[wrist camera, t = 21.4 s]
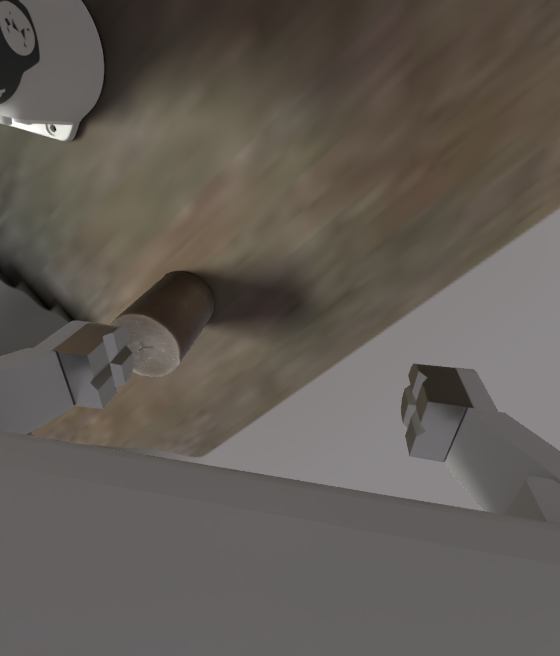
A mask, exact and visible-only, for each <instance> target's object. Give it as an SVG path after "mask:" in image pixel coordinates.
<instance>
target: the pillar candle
mask: <svg viewBox="0 0 560 656" xmlns="http://www.w3.org/2000/svg"><path fill="white" fill-rule="evenodd" d="M214 306H215V304H214V298H213V295H212V292H211V291H210V289H209V287H208V286H207V285H206V284H205V283H204V282H203V281H202V280H201V279H200V278H199V277H197V276H196V275H193V274H191V273H188V272H183V271H175V272H170V273H168V274H166V275H165V276H164V277H163V278H162V279H161V280H160V281H158V282H157V283H156V284H155V285H154V286H153V287H152V288H150V289H149V290H148V291H147V292H146V293H144V294H143V295H142V296H141V297H140V298H139V299H138V300H136V301H135V302H134V303H133V304H132V305H131V306H130V307H128V308H127V309H126V310H125V311H124V312H123V313H121V314H120V315H119V316H118V317H117V318H116V319H115V320H114V321H113V322H112V323H111V325H113V326H120V327H124V328H125V329H126V330H128V334H129V338H130V341H129V342H128V344H127V347H128V348H129V349H130V350H131V351H132V353H133V357H134V368H133V372H136V373H137V374H140V375H144V376H151V377H156V376H158V377H162V376H164V375H167V374H170V373H171V372H173V371H174V370H175V369H176V368H177V366H179V364H180V362H181V360H182V358H183V357H184V356H185V354H186V353H187V351H188V350H189V349H190V347H191V346H192V344H193V343H194V341H195V340H196V338H197V337H198V335H199V334H200V333H201V331H202V329H203V328H204V327H205V325H206V324H207V322H208V321H209V320H210V318H211V316H212V314H213V311H214Z"/></svg>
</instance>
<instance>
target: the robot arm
mask: <svg viewBox="0 0 560 656" xmlns="http://www.w3.org/2000/svg"><path fill="white" fill-rule="evenodd" d="M103 80H104V58H103V51H102V46H101V42H100V38H99V35H98V32H97V29H96V27H95V24H94V22H93V20H92V18H91V16H90V14H89V12H88V10H87V8H86V7H85V5H84V4H83V2H82V1H81V0H0V123H1V124H6V125H9V126H13V127H16V128H19V129H23V130H26V131H30V132H33V133H37V134H40V135H44V136H47V137H51V138H54V139H58V140H61V141H72V140H73V139H74V137H75V135H76V133H77V130H78V126H79V123H80V121H81V120H82V118H83V117H84V116H85V115H86V114H88V113H89V112H90V111H91V109H92V108H93V107H94V106H95V104H96V102H97V100H98V98H99V96H100V93H101V90H102V86H103ZM54 126H55V127H56V131H55V129H54ZM129 341H130V338H129V334H128V330H126V329H125V328H124V327H120V326H113V325H106V324H99V323H91V322H85V321H71V322H70V323H68V324H67V325H65V326H64V327H63V328H61V329H60V330H58V331H57V332H56V333H54V334H53V335H51V336H50V337H49V338H47V339H46V340H44V341H43V342H42V343H40V344H39V345H37V346H36V347H34V348H33V349H32V348H26V349H23V350H20V351H16V352H13V353H10V354H7V355H4V356H0V656H560V451H559V450H558V449H556V448H555V447H553V446H552V445H550V444H549V443H548V442H546V441H545V440H543V439H541V438H540V437H539V436H537V435H536V434H535V433H533V432H532V431H530V430H529V429H528V428H526V427H525V426H523V425H521V424H520V423H519V422H517V421H516V420H514V419H513V418H512V417H510V416H509V415H507V414H506V413H502V412H498V410H497V408H496V406H495V405H494V403H493V401H492V399H491V397H490V395H489V394H488V392H487V390H486V388H485V386H484V385H483V383H482V381H481V379H480V377H479V375H478V374H477V372H476V371H475V370H473V369H464V368H450V367H441V366H431V365H422V364H413V365H412V367H411V370H410V373H409V380H410V384H411V385H409V386H408V387H407V388H405V390H404V393H403V397H402V405H401V415H402V421H403V423H404V425H405V426H406V427H407V428H408V429H407V432H406V435H405V437H406V441H407V446H408V451H409V456H412V457H418V458H423V459H429V460H434V461H440V462H445V463H444V464H445V466H446V467H447V468H448V469H449V470H450V471H451V473H452V474H453V475H454V476H455V477H456V479H457V480H458V481H459V482H460V483H461V485H462V486H463V487H464V488H465V489H466V490H467V492H468V493H469V494H470V495H471V496H472V498H473V499H474V500H475V501H476V502H477V504H478V505H479V506H480V507H481V508H482V509H483V511H479V510H473V509H466V508H461V507H455V506H449V505H443V504H437V503H430V502H424V501H418V500H412V499H405V498H399V497H394V496H388V495H382V494H376V493H369V492H364V491H358V490H352V489H346V488H340V487H334V486H328V485H322V484H317V483H311V482H305V481H299V480H293V479H287V478H281V477H275V476H269V475H263V474H257V473H251V472H245V471H239V470H233V469H227V468H221V467H215V466H209V465H203V464H197V463H191V462H185V461H179V460H173V459H167V458H161V457H155V456H149V455H143V454H137V453H131V452H125V451H118V450H113V449H107V448H101V447H95V446H89V445H83V444H77V443H71V442H65V441H59V440H53V439H47V438H41V437H35V436H29V435H26V434H28V433H30V432H31V431H33V430H35V429H37V428H38V427H40V426H42V425H44V424H45V423H47V422H49V421H51V420H52V419H54V418H56V417H58V416H59V415H61V414H63V413H65V412H66V411H68V410H70V409H72V408H73V407H74V405H75V406H83V407H91V408H99V409H103V408H104V407H105V406H106V405H107V404H108V403H109V401H110V400H111V399H112V398H113V397H114V396H115V394H116V387H118V386H120V385H122V384H124V383H126V381H127V380H128V379H129V378H130V376H131V373H132V371H133V368H134V357H133V353H132V351H131V350H130V349H129V348H128V347H127V344H128V342H129Z"/></svg>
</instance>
